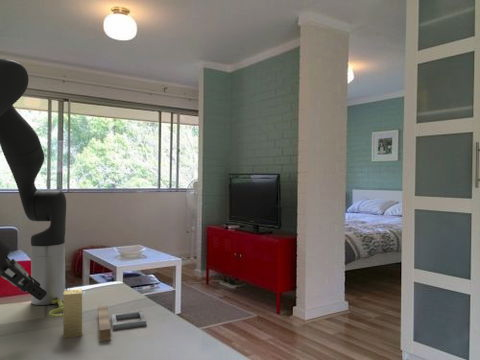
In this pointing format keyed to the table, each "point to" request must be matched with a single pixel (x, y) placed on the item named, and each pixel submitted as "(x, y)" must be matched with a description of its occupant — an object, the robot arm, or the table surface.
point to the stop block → (72, 313)
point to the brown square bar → (104, 323)
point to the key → (59, 309)
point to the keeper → (128, 324)
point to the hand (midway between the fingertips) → (40, 292)
